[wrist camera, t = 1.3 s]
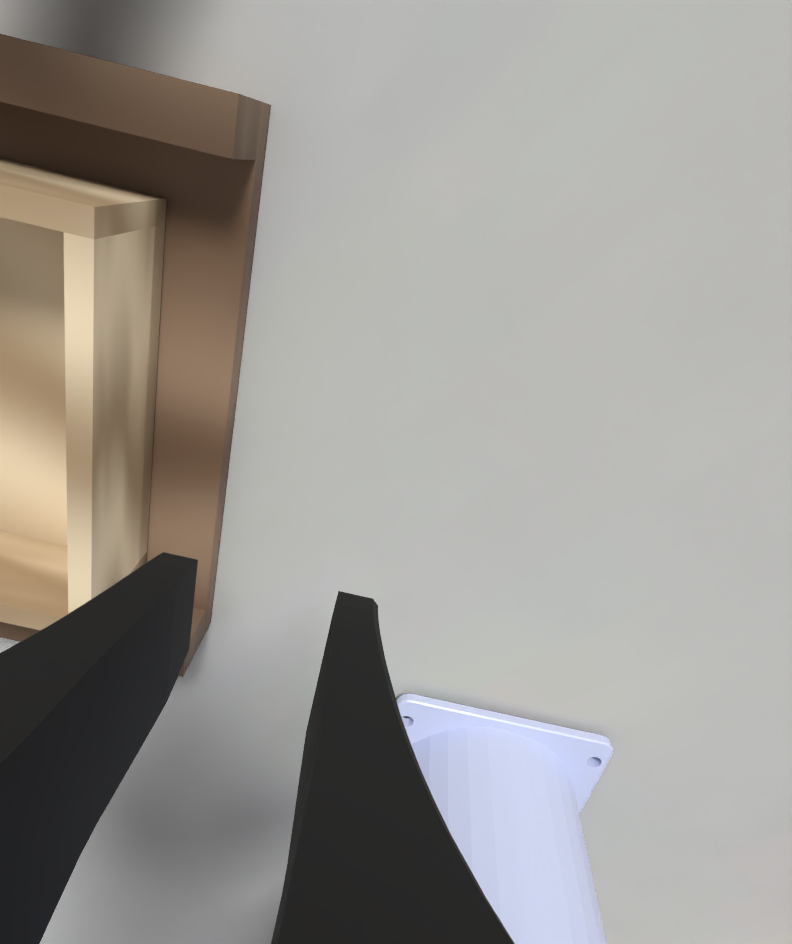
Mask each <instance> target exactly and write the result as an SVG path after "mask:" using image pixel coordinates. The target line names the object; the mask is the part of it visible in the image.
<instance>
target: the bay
mask: <svg viewBox="0 0 792 944" xmlns="http://www.w3.org/2000/svg"><path fill="white" fill-rule="evenodd" d="M270 107H271V105H269V104H266V103H263V102H260V101H258V100H255V99H252V98H249V97H246V96H243V95H240V94H237V93H233V92H229V91H225V90H221V89H217V88H213V87H209V86H205V85H201V84H197V83H193V82H189V81H185V80H181V79H177V78H173V77H169V76H166V75H162V74H158V73H154V72H150V71H146V70H142V69H138V68H134V67H130V66H126V65H122V64H118V63H114V62H110V61H106V60H102V59H98V58H94V57H90V56H86V55H82V54H78V53H74V52H70V51H66V50H62V49H58V48H54V47H50V46H46V45H42V44H38V43H34V42H30V41H26V40H22V39H18V38H15V37H11V36H7V35H3V34H0V158H3V159H7V160H11V161H15V162H19V163H23V164H27V165H32V166H36V167H40V168H44V169H48V170H52V171H56V172H60V173H64V174H68V175H72V176H77V177H81V178H85V179H89V180H93V181H97V182H101V183H105V184H109V185H113V186H117V187H122V188H126V189H130V190H134V191H138V192H142V193H146V194H150V195H154V196H158V197H162V198H166V216H165V234H164V252H163V270H162V288H161V306H160V324H159V342H158V361H157V379H156V397H155V415H154V433H153V451H152V469H151V487H150V505H149V523H148V541H147V560H146V563H147V562H148V561H150V560H151V559H153V558H154V557H156V556H157V555H159V554H161V553H163V552H165V553H170V554H174V555H179V556H183V557H188V558H192V559H197V560H198V565H197V575H196V585H195V595H194V605H193V615H192V625H191V636H190V646H189V651H188V653H187V656H186V658H185V660H184V663H183V665H182V668H181V670H180V672H179V675H178V676H182V677H183V676H184V674H185V672H186V670H187V668H188V666H189V664H190V662H191V660H192V658H193V656H194V654H195V652H196V650H197V648H198V646H199V644H200V642H201V640H202V638H203V636H204V634H205V632H206V630H207V628H208V626H209V624H210V622H211V614H212V605H213V597H214V588H215V580H216V571H217V563H218V554H219V545H220V537H221V528H222V520H223V511H224V502H225V494H226V485H227V477H228V468H229V459H230V451H231V442H232V434H233V425H234V417H235V408H236V399H237V391H238V382H239V374H240V365H241V356H242V348H243V339H244V331H245V322H246V314H247V305H248V296H249V288H250V279H251V271H252V262H253V253H254V245H255V236H256V228H257V219H258V210H259V202H260V193H261V185H262V176H263V168H264V159H265V150H266V142H267V133H268V125H269V116H270ZM39 631H40V630H36V629H32V628H27V627H22V626H18V625H13V624H9V623H4V622H0V637H2V638H7V639H11V640H16V641H23V640H25V639H26V638H28V637H30V636H32V635H33V634H35V633H37V632H39Z"/></svg>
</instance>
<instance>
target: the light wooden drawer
mask: <svg viewBox="0 0 792 944" xmlns="http://www.w3.org/2000/svg"><path fill="white" fill-rule="evenodd" d="M165 216H166V198H162V197H158V196H154V195H150V194H146V193H142V192H138V191H134V190H130V189H126V188H122V187H117V186H113V185H109V184H105V183H101V182H97V181H93V180H89V179H85V178H81V177H77V176H72V175H68V174H64V173H60V172H56V171H52V170H48V169H44V168H40V167H36V166H32V165H27V164H23V163H19V162H15V161H11V160H7V159H3V158H0V622H4V623H9V624H13V625H18V626H22V627H27V628H32V629H36V630H42V629H44V628H46V627H47V626H49V625H51V624H53V623H54V622H56V621H58V620H59V619H61V618H62V617H64V616H66V615H67V614H69V613H70V612H72V611H74V610H75V609H77V608H78V607H80V606H81V605H83V604H85V603H86V602H88V601H89V600H91V599H93V598H94V597H96V596H97V595H99V594H100V593H102V592H103V591H105V590H106V589H108V588H109V587H111V586H112V585H114V584H115V583H117V582H118V581H120V580H121V579H123V578H124V577H126V576H127V575H129V574H130V573H132V572H133V571H135V570H136V569H138V568H139V567H141V566H142V565H144V564H145V563H146V560H147V541H148V523H149V505H150V487H151V469H152V451H153V433H154V415H155V397H156V379H157V361H158V342H159V324H160V306H161V288H162V270H163V252H164V234H165Z"/></svg>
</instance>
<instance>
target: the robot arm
mask: <svg viewBox="0 0 792 944" xmlns="http://www.w3.org/2000/svg"><path fill="white" fill-rule="evenodd" d="M197 565H198V560H197V559H192V558H188V557H183V556H179V555H174V554H170V553H165V552H163V553H161V554H159V555H157V556H156V557H154V558H153V559H151V560H150V561H148V562H147V563H145V564H144V565H142V566H141V567H139V568H138V569H136V570H135V571H133V572H132V573H130V574H129V575H127V576H126V577H124V578H123V579H121V580H120V581H118V582H117V583H115V584H114V585H112V586H111V587H109V588H108V589H106V590H105V591H103V592H102V593H100V594H99V595H97V596H96V597H94V598H93V599H91V600H89V601H88V602H86V603H85V604H83V605H81V606H80V607H78V608H77V609H75V610H74V611H72V612H70V613H69V614H67V615H66V616H64V617H62V618H61V619H59V620H58V621H56V622H54V623H53V624H51V625H49V626H47V627H46V628H44V629H42V630H40V631H39V632H37V633H35V634H33V635H32V636H30V637H28V638H26V639H25V640H23V641H21V642H19V643H18V644H16V645H14V646H12V647H11V648H9V649H7V650H5V651H4V652H2V653H0V944H39V943H40V941H41V939H42V937H43V934H44V932H45V930H46V928H47V925H48V923H49V921H50V919H51V917H52V915H53V912H54V910H55V908H56V906H57V904H58V902H59V900H60V897H61V895H62V893H63V891H64V889H65V887H66V884H67V882H68V880H69V878H70V876H71V874H72V872H73V869H74V867H75V865H76V863H77V861H78V859H79V857H80V854H81V852H82V851H83V849H84V847H85V845H86V843H87V841H88V839H89V837H90V835H91V834H92V832H93V830H94V828H95V826H96V824H97V822H98V821H99V819H100V817H101V815H102V814H103V812H104V810H105V808H106V807H107V805H108V803H109V802H110V800H111V798H112V796H113V795H114V793H115V791H116V789H117V788H118V786H119V784H120V783H121V781H122V779H123V777H124V776H125V774H126V772H127V770H128V769H129V767H130V765H131V763H132V762H133V760H134V758H135V757H136V755H137V753H138V751H139V750H140V748H141V746H142V744H143V743H144V741H145V739H146V737H147V736H148V734H149V732H150V730H151V729H152V727H153V725H154V723H155V722H156V720H157V718H158V716H159V715H160V713H161V711H162V709H163V708H164V706H165V704H166V702H167V700H168V698H169V695H170V693H171V691H172V689H173V686H174V684H175V682H176V679H177V677H178V675H179V672H180V670H181V668H182V665H183V663H184V660H185V658H186V656H187V653H188V651H189V646H190V636H191V625H192V615H193V605H194V595H195V585H196V575H197ZM403 716H409V717H410V718H404V717H403ZM612 753H613V749H612V745H611V742H610V740H609V739H608V738H607V737H605V736H602V735H598V734H593V733H589V732H584V731H580V730H575V729H570V728H566V727H561V726H557V725H552V724H548V723H543V722H538V721H534V720H529V719H525V718H520V717H515V716H511V715H506V714H502V713H497V712H493V711H488V710H483V709H479V708H474V707H470V706H465V705H461V704H456V703H451V702H447V701H442V700H438V699H433V698H428V697H424V696H419V695H415V694H404V695H402V696H400V697H398V699H397V701H396V698H395V695H394V691H393V687H392V684H391V680H390V676H389V673H388V669H387V665H386V661H385V656H384V651H383V646H382V641H381V636H380V629H379V621H378V605H377V604H376V602H375V601H374V600H373V599H371V598H367V597H362V596H358V595H353V594H349V593H344V592H340V591H339V592H338V596H337V600H336V604H335V608H334V612H333V616H332V620H331V625H330V629H329V633H328V638H327V642H326V647H325V651H324V656H323V660H322V664H321V669H320V673H319V678H318V682H317V687H316V691H315V695H314V700H313V704H312V709H311V713H310V718H309V722H308V726H307V731H306V737H305V744H304V751H303V758H302V765H301V772H300V779H299V786H298V794H297V801H296V808H295V815H294V822H293V829H292V836H291V843H290V850H289V857H288V864H287V870H286V876H285V881H284V887H283V893H282V897H281V902H280V906H279V911H278V915H277V920H276V924H275V929H274V933H273V938H272V942H271V944H606V939H605V934H604V929H603V925H602V920H601V915H600V910H599V906H598V901H597V896H596V891H595V886H594V882H593V877H592V872H591V867H590V863H589V858H588V853H587V848H586V844H585V839H584V834H583V829H582V825H581V820H580V815H579V814H580V813H581V811H582V809H583V807H584V805H585V803H586V802H587V800H588V798H589V796H590V794H591V792H592V791H593V789H594V787H595V785H596V783H597V781H598V780H599V778H600V776H601V774H602V772H603V770H604V769H605V767H606V765H607V763H608V761H609V759H610V758H611V756H612ZM592 757H595V758H592Z"/></svg>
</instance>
